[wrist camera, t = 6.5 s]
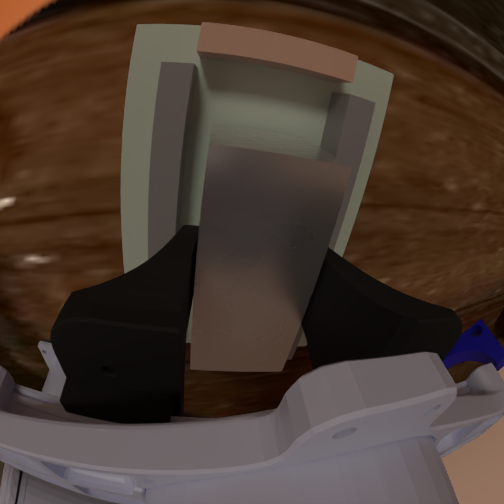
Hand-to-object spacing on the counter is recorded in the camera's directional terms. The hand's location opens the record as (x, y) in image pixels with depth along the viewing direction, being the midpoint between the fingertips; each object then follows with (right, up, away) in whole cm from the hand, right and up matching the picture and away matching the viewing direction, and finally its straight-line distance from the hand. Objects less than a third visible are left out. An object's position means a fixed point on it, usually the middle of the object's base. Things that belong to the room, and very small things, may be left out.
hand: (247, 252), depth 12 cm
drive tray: (0, +2, +3) cm, 4 cm away
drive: (0, +1, +2) cm, 2 cm away
